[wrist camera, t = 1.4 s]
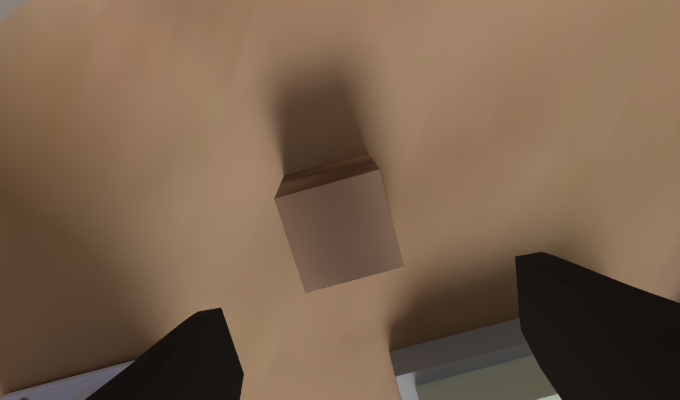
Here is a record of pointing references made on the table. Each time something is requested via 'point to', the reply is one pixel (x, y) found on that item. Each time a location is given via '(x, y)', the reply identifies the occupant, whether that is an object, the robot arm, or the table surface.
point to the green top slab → (493, 384)
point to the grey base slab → (457, 355)
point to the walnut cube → (338, 222)
